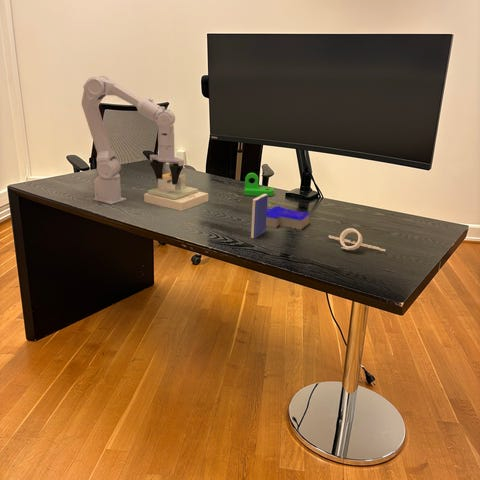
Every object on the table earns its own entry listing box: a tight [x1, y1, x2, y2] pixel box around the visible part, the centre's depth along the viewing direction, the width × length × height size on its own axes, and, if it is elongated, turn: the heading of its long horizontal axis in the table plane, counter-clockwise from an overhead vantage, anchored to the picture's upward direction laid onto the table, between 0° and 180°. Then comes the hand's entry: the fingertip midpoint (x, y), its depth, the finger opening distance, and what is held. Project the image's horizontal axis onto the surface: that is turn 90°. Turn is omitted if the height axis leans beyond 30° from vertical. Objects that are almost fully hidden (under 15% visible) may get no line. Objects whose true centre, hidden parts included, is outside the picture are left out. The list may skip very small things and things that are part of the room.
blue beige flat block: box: [266, 205, 310, 231], centre depth 157 cm, size 11×15×5 cm
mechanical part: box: [243, 172, 275, 197], centre depth 192 cm, size 12×6×8 cm, turn 87°
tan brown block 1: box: [157, 177, 175, 194], centre depth 173 cm, size 4×4×5 cm
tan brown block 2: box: [170, 173, 187, 190], centre depth 178 cm, size 4×4×5 cm
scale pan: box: [147, 185, 199, 199], centre depth 177 cm, size 13×14×1 cm
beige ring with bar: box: [328, 227, 386, 253], centre depth 138 cm, size 18×10×6 cm
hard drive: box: [250, 194, 269, 239], centre depth 145 cm, size 2×8×12 cm, turn 152°
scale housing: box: [143, 190, 209, 212], centre depth 177 cm, size 18×16×4 cm
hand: (167, 182), depth 173 cm, fingers open, 7 cm apart
